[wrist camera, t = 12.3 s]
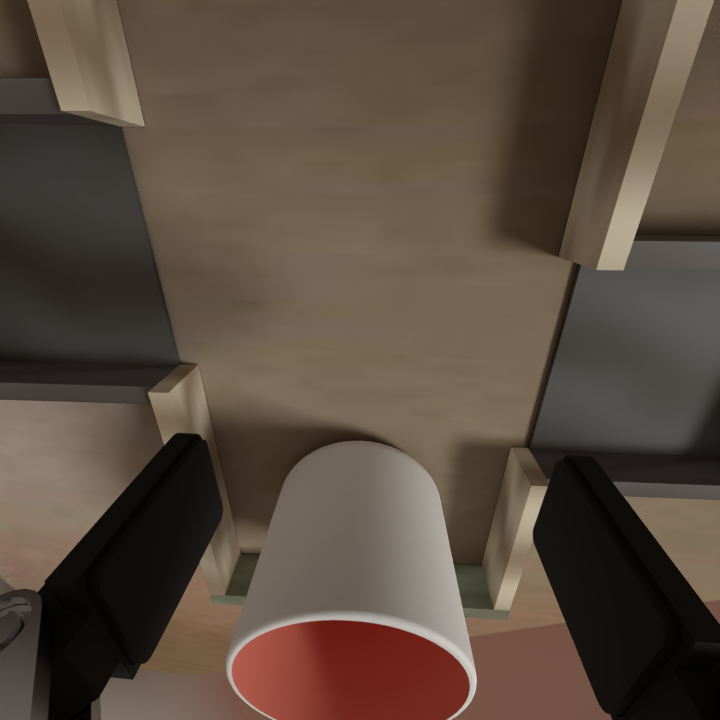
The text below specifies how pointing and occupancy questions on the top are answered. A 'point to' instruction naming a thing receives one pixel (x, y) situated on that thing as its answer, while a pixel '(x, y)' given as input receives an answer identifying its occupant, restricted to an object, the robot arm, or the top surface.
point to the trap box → (183, 381)
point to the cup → (354, 597)
